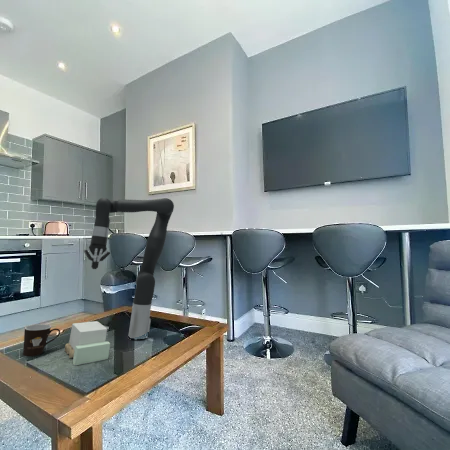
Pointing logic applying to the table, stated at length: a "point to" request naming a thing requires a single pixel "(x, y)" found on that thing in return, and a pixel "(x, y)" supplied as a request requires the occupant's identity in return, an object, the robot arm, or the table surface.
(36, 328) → the coffee mug
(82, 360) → the block
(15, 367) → the table surface
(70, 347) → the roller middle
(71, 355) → the roller front
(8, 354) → the table surface
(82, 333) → the white stacked block
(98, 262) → the robot arm
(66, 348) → the roller rear
